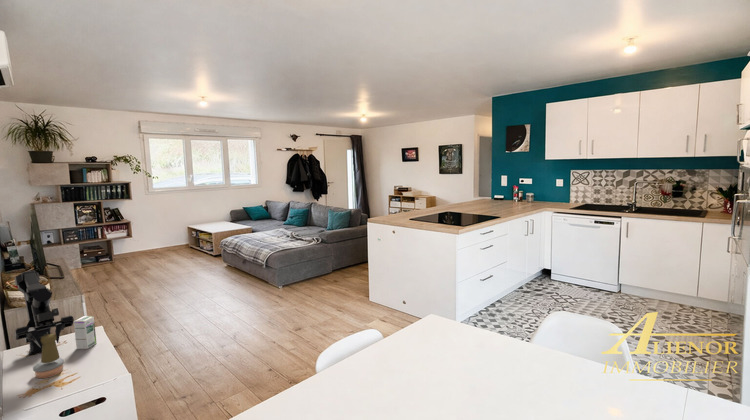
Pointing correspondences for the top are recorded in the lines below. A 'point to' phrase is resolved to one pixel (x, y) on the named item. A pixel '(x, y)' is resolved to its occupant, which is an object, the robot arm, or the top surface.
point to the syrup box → (85, 332)
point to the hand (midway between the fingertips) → (49, 344)
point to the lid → (48, 365)
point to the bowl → (49, 372)
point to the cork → (49, 348)
